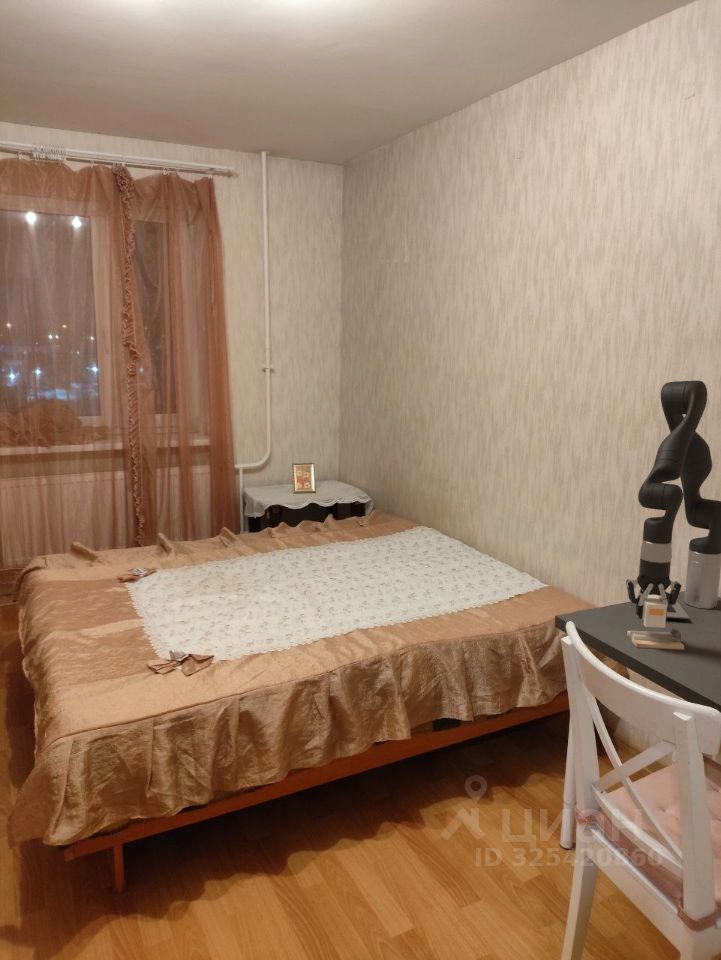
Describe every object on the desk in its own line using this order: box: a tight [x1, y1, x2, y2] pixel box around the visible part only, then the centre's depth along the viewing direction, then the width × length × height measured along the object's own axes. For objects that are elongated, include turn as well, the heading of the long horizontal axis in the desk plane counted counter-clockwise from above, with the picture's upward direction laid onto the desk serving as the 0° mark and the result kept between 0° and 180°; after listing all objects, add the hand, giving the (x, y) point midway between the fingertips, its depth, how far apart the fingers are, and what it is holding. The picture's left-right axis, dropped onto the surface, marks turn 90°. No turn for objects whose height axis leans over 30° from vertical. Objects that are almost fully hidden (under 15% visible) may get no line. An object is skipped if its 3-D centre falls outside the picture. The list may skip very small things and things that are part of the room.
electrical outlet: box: [666, 601, 690, 621], centre depth 203 cm, size 13×10×2 cm
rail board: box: [626, 626, 685, 651], centre depth 182 cm, size 9×12×3 cm
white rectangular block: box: [636, 594, 667, 629], centre depth 181 cm, size 8×5×6 cm, turn 174°
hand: (650, 618), depth 182 cm, fingers closed on white rectangular block, 5 cm apart
